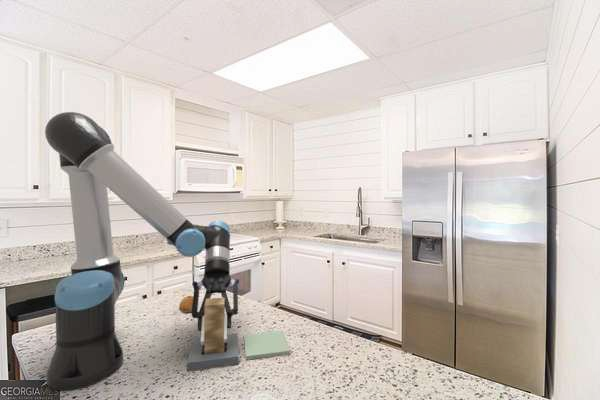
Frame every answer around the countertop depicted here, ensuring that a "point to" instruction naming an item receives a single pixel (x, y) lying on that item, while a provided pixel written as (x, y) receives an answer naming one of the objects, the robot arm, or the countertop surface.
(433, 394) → the countertop surface
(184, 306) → the pastry
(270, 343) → the rubber pad
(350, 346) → the countertop surface
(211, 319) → the oak peg
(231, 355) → the pocket frame
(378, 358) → the countertop surface
